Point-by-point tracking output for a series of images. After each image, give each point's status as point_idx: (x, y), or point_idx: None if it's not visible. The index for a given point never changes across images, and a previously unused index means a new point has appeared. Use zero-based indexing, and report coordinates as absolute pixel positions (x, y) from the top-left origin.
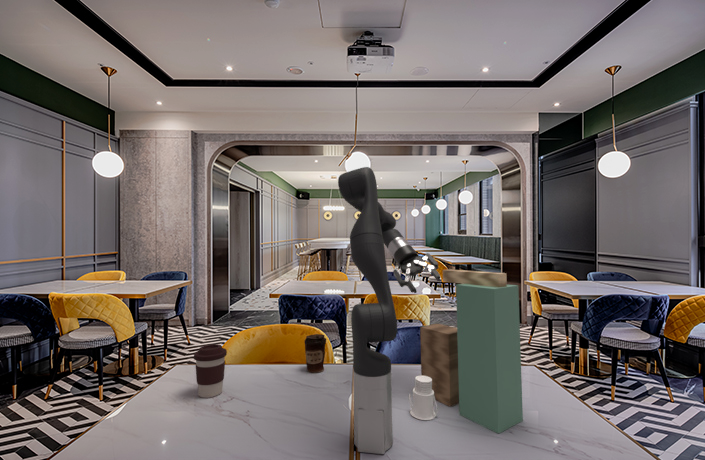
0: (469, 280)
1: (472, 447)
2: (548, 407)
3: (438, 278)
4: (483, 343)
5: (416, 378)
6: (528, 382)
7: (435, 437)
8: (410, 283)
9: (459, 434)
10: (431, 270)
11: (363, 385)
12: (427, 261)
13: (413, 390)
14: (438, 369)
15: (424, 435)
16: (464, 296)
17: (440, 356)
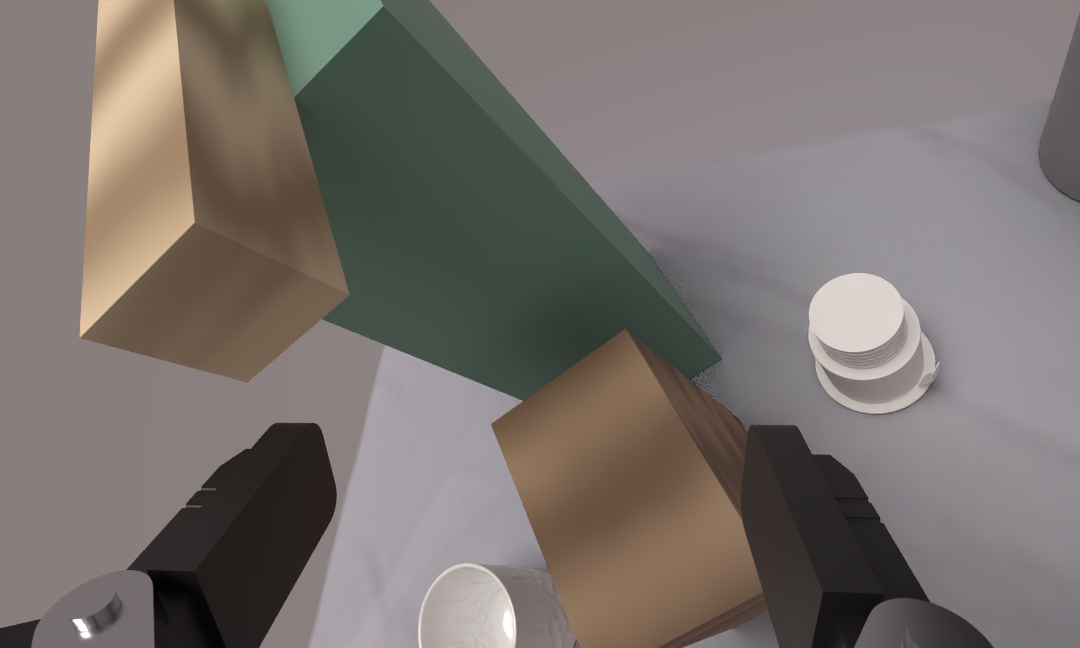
0: (254, 41)
1: (747, 178)
2: (445, 399)
3: (310, 432)
4: (536, 133)
5: (897, 309)
6: (385, 591)
7: (853, 211)
8: (833, 537)
9: (764, 236)
10: (182, 645)
11: None
12: None
13: (917, 332)
14: (739, 448)
15: (893, 217)
16: (426, 33)
17: (710, 420)
